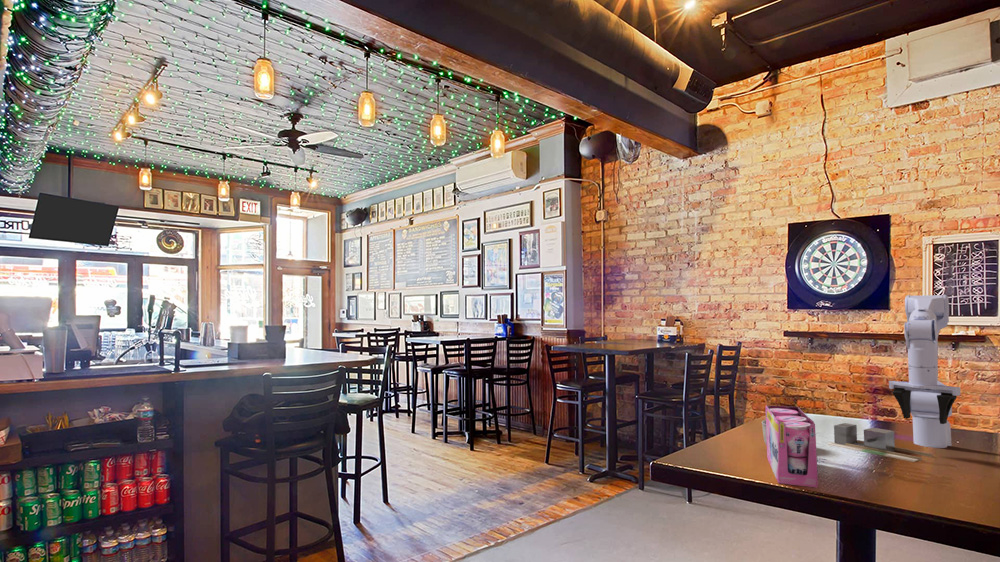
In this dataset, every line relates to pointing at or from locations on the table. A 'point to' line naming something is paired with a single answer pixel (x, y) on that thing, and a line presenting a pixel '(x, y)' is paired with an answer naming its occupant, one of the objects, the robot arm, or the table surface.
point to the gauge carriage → (879, 439)
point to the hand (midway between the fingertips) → (924, 420)
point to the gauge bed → (848, 437)
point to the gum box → (791, 446)
